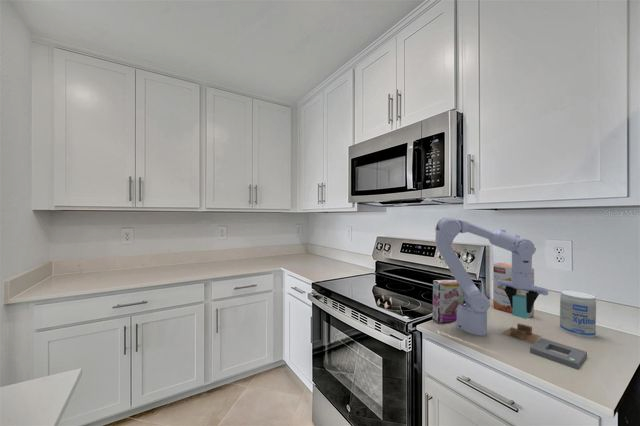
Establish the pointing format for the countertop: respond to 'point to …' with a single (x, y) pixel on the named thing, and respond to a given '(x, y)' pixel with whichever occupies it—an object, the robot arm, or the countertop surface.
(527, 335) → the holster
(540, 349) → the port
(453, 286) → the candy bar box
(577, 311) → the supplement tub
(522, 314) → the plug
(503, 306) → the cracker box
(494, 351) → the countertop surface
